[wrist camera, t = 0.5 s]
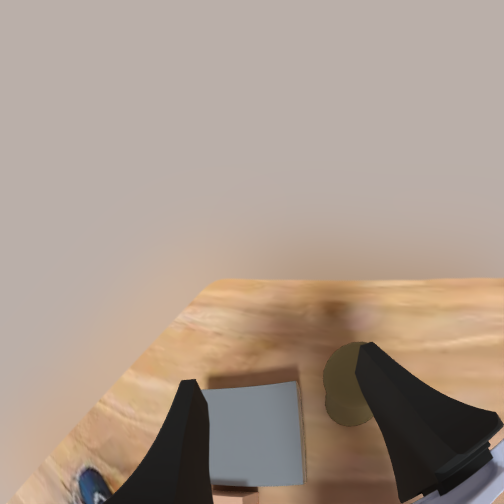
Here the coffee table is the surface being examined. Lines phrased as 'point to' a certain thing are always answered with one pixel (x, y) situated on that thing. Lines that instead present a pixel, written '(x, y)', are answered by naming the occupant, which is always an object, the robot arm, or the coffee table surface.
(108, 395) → the coffee table surface
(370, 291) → the coffee table surface
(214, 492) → the tan cube
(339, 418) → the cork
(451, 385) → the coffee table surface
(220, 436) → the plate
